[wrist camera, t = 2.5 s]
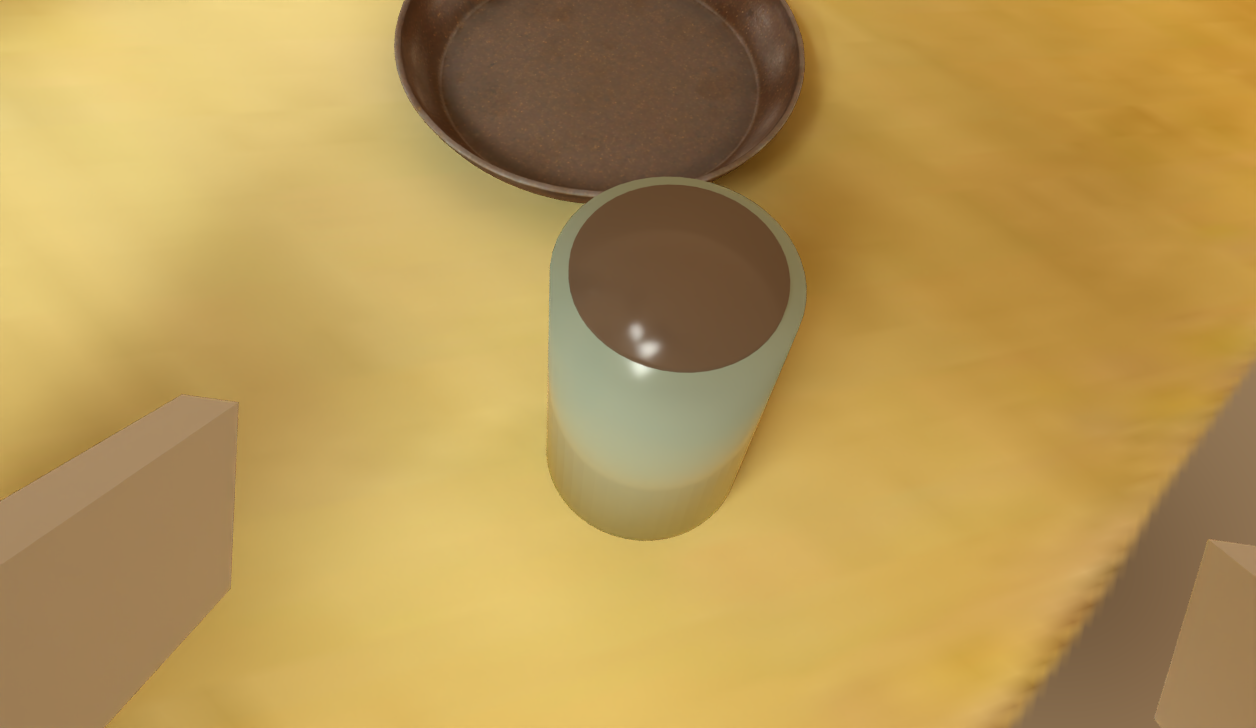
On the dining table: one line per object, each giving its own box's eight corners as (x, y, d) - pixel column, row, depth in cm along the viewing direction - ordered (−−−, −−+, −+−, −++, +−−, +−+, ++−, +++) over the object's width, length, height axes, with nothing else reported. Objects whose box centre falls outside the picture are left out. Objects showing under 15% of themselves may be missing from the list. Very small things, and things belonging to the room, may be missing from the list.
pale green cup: (509, 423, 37) (499, 236, 27) (663, 336, 39) (704, 136, 30) (618, 578, 34) (650, 433, 25) (775, 474, 37) (861, 305, 27)
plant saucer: (378, -23, 49) (369, -78, 46) (727, -58, 52) (737, -112, 49) (433, 273, 40) (426, 226, 38) (845, 209, 44) (864, 162, 41)
